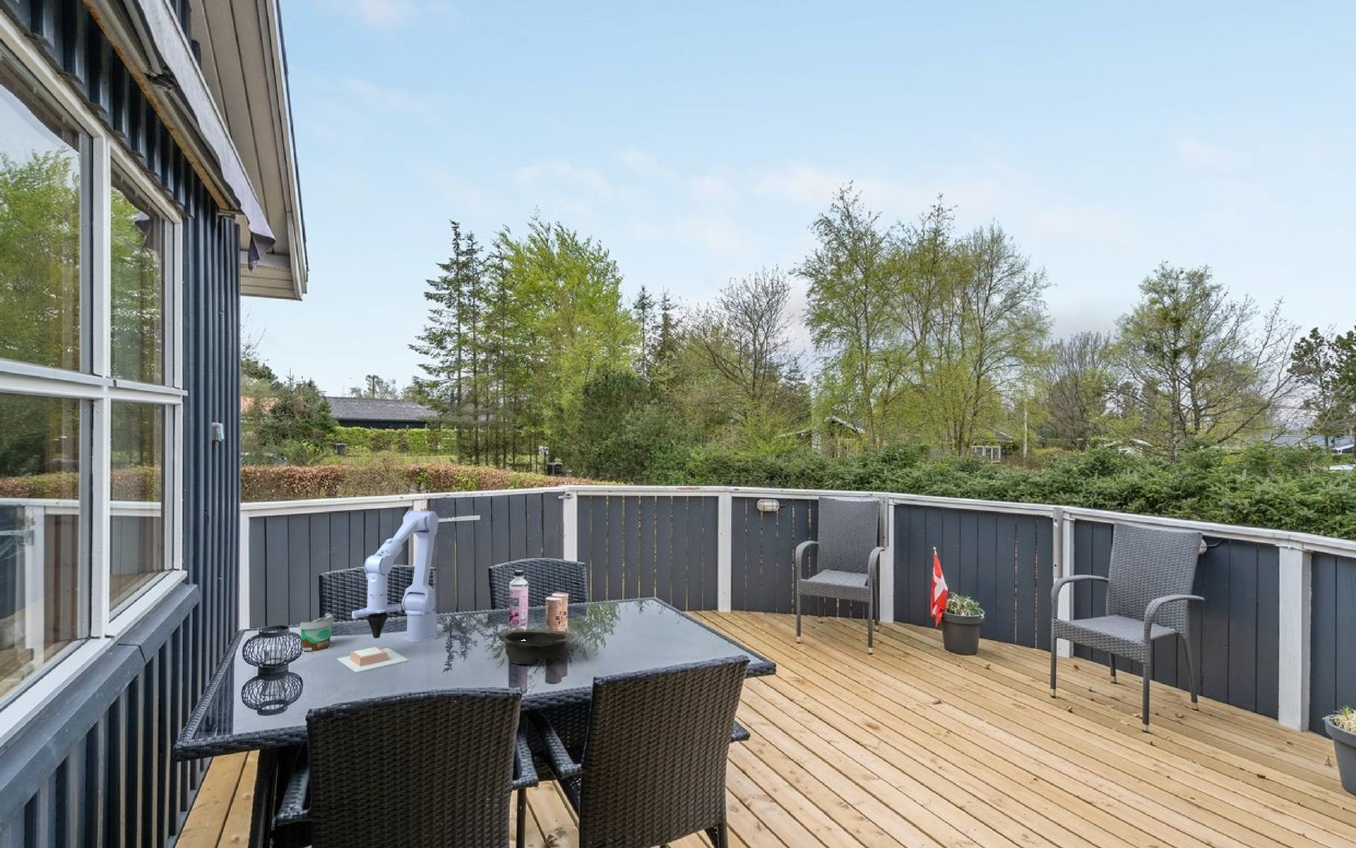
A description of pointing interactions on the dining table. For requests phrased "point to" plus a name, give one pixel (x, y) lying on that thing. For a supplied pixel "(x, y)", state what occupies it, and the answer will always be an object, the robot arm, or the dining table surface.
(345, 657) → the mat
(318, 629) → the food container
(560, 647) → the stone bowl
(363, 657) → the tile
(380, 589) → the robot arm
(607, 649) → the dining table surface
